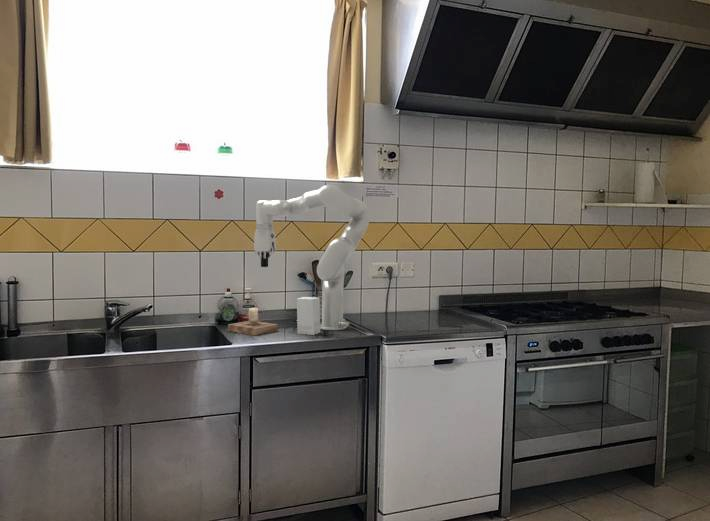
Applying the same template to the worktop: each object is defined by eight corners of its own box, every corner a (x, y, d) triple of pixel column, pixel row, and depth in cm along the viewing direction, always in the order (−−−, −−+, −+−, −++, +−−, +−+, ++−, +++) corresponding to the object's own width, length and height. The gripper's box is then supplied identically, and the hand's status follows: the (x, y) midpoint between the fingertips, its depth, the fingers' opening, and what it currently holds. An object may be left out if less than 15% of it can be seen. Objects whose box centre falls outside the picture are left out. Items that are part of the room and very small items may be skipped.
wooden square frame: (277, 331, 262) (277, 324, 261) (255, 335, 250) (255, 328, 250) (251, 327, 271) (251, 320, 271) (228, 331, 259) (228, 324, 259)
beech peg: (260, 331, 261) (260, 308, 260) (253, 332, 257) (253, 309, 257) (253, 330, 263) (253, 307, 263) (246, 331, 260) (246, 308, 259)
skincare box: (320, 333, 258) (321, 297, 257) (313, 335, 252) (313, 299, 251) (303, 331, 262) (304, 296, 261) (296, 334, 256) (296, 297, 255)
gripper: (282, 227, 276) (282, 267, 277) (258, 227, 284) (257, 265, 285) (271, 227, 269) (271, 268, 270) (247, 227, 277) (246, 266, 279)
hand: (264, 266), depth 278 cm, fingers closed
